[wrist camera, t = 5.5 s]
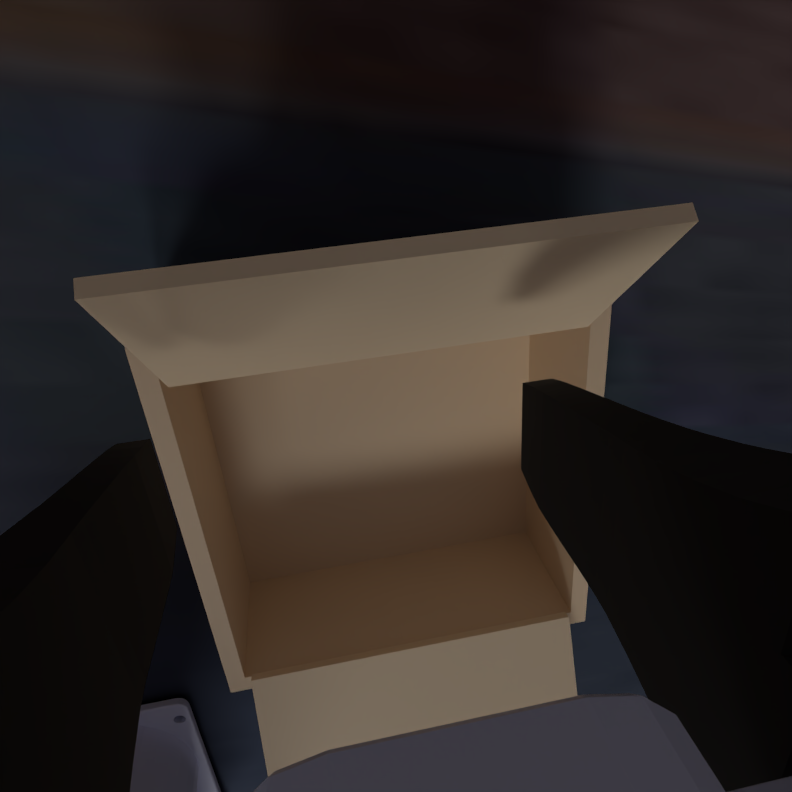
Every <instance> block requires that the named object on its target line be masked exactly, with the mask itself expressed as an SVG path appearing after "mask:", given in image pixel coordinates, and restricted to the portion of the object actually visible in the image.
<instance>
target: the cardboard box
mask: <svg viewBox="0 0 792 792" xmlns="http://www.w3.org/2000/svg"><path fill="white" fill-rule="evenodd" d="M611 308H612V304H611V305H610V306H609V307H608V308H607V309H606V310H605V311H604V312H603V313H602V314H601V315H600V316H599V317H598V318H596V319H595V320H594V321H593V322H592V323H591V324H590V325H589V326H588V327H583V328H576V329H569V330H562V331H555V332H549V333H542V334H535V335H528V336H521V337H514V338H507V339H500V340H493V341H486V342H479V343H472V344H465V345H458V346H451V347H445V348H438V349H431V350H424V351H417V352H410V353H403V354H396V355H389V356H382V357H375V358H368V359H361V360H354V361H348V362H341V363H334V364H327V365H320V366H313V367H306V368H299V369H292V370H285V371H278V372H271V373H264V374H257V375H250V376H244V377H237V378H230V379H223V380H216V381H209V382H202V383H195V384H188V385H181V386H174V387H168V386H167V385H166V384H164V383H163V382H162V381H161V380H160V379H159V378H158V377H157V376H156V375H155V374H154V373H153V372H152V371H151V370H149V369H148V368H147V367H146V366H145V365H144V364H143V363H142V362H141V361H140V360H139V359H138V358H137V357H135V356H134V355H133V354H132V353H131V352H130V351H129V350H128V349H127V348H126V347H125V352H126V355H127V358H128V361H129V364H130V368H131V371H132V374H133V377H134V381H135V384H136V387H137V390H138V394H139V397H140V400H141V403H142V407H143V410H144V413H145V416H146V419H147V423H148V426H149V429H150V432H151V436H152V439H153V442H154V445H155V449H156V452H157V455H158V458H159V462H160V465H161V468H162V471H163V475H164V478H165V481H166V484H167V487H168V491H169V494H170V497H171V500H172V504H173V507H174V510H175V513H176V517H177V520H178V523H179V526H180V530H181V533H182V536H183V539H184V542H185V546H186V549H187V552H188V555H189V559H190V562H191V565H192V568H193V572H194V575H195V578H196V581H197V585H198V588H199V591H200V594H201V597H202V601H203V604H204V607H205V610H206V614H207V617H208V620H209V623H210V627H211V630H212V633H213V636H214V640H215V643H216V646H217V649H218V653H219V656H220V659H221V662H222V665H223V669H224V672H225V675H226V678H227V682H228V685H229V688H230V691H231V693H232V692H237V691H242V690H247V689H252V684H251V678H252V674H256V673H261V672H266V671H271V670H276V669H281V668H286V667H291V666H296V665H301V664H306V663H311V662H316V661H321V660H326V659H331V658H336V657H341V656H346V655H351V654H356V653H361V652H366V651H371V650H376V649H381V648H386V647H391V646H396V645H401V644H406V643H411V642H416V641H421V640H426V639H431V638H436V637H441V636H446V635H451V634H456V633H461V632H466V631H471V630H476V629H481V628H486V627H491V626H496V625H501V624H506V623H511V622H516V621H521V620H526V619H531V618H536V617H541V616H546V615H551V614H556V613H561V612H565V613H566V614H567V615H568V616H569V622H570V624H573V623H578V622H583V621H585V615H586V603H587V591H588V583H587V582H586V580H585V579H584V577H583V575H582V574H581V572H580V571H579V569H578V568H577V566H576V565H575V563H574V562H573V560H572V559H571V557H570V556H569V554H568V553H567V551H566V550H565V548H564V547H563V545H562V544H561V542H560V541H559V539H558V537H557V536H556V534H555V533H554V531H553V530H552V528H551V527H550V525H549V523H548V522H547V520H546V519H545V517H544V516H543V514H542V512H541V511H540V509H539V507H538V505H537V503H536V501H535V499H534V497H533V495H532V493H531V491H530V488H529V486H528V484H527V482H526V479H525V477H524V475H523V472H522V470H521V441H522V386H523V383H525V382H532V381H538V380H545V379H556V380H560V381H563V382H566V383H569V384H571V385H574V386H577V387H579V388H582V389H584V390H587V391H589V392H592V393H594V394H597V395H599V396H602V397H604V390H605V378H606V367H607V355H608V343H609V331H610V319H611Z"/></svg>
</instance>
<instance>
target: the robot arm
mask: <svg viewBox="0 0 792 792" xmlns="http://www.w3.org/2000/svg"><path fill="white" fill-rule="evenodd" d="M521 470H522V472H523V475H524V477H525V479H526V482H527V484H528V486H529V488H530V491H531V493H532V495H533V497H534V499H535V501H536V503H537V505H538V507H539V509H540V511H541V512H542V514H543V516H544V517H545V519H546V520H547V522H548V523H549V525H550V527H551V528H552V530H553V531H554V533H555V534H556V536H557V537H558V539H559V541H560V542H561V544H562V545H563V547H564V548H565V550H566V551H567V553H568V554H569V556H570V557H571V559H572V560H573V562H574V563H575V565H576V566H577V568H578V569H579V571H580V572H581V574H582V575H583V577H584V579H585V580H586V582H587V583H588V585H589V586H590V588H591V589H592V591H593V592H594V594H595V596H596V597H597V599H598V601H599V602H600V604H601V606H602V607H603V609H604V611H605V612H606V614H607V616H608V618H609V620H610V622H611V624H612V626H613V628H614V630H615V632H616V634H617V636H618V638H619V640H620V642H621V644H622V646H623V648H624V650H625V652H626V654H627V656H628V658H629V660H630V662H631V664H632V666H633V668H634V670H635V672H636V674H637V676H638V678H639V681H640V683H641V685H642V687H643V689H644V691H645V693H646V695H647V697H648V699H647V698H645V697H643V696H641V695H635V694H596V695H579V696H574V697H570V698H565V699H561V700H556V701H551V702H547V703H542V704H538V705H533V706H528V707H524V708H519V709H514V710H510V711H505V712H501V713H496V714H491V715H487V716H482V717H478V718H473V719H468V720H464V721H459V722H455V723H450V724H445V725H441V726H436V727H432V728H427V729H422V730H418V731H413V732H409V733H404V734H399V735H395V736H390V737H386V738H381V739H376V740H372V741H367V742H363V743H358V744H353V745H349V746H344V747H340V748H335V749H330V750H327V751H324V752H322V753H319V754H317V755H314V756H312V757H309V758H307V759H304V760H302V761H299V762H297V763H294V764H292V765H289V766H287V767H284V768H282V769H279V770H277V771H274V772H273V773H272V774H271V775H270V776H269V777H268V778H266V779H265V780H264V781H263V782H262V783H261V784H260V785H259V786H258V787H257V788H256V789H255V790H254V791H253V792H792V454H791V453H786V452H781V451H775V450H770V449H765V448H760V447H756V446H751V445H747V444H742V443H738V442H735V441H731V440H727V439H723V438H719V437H716V436H712V435H708V434H704V433H701V432H698V431H694V430H691V429H688V428H685V427H682V426H679V425H676V424H673V423H670V422H667V421H664V420H661V419H658V418H655V417H653V416H650V415H647V414H645V413H642V412H639V411H637V410H634V409H632V408H629V407H627V406H624V405H622V404H619V403H616V402H614V401H612V400H609V399H607V398H604V397H602V396H599V395H597V394H594V393H592V392H589V391H587V390H584V389H582V388H579V387H577V386H574V385H571V384H569V383H566V382H563V381H560V380H556V379H545V380H538V381H532V382H525V383H523V386H522V441H521ZM176 532H177V525H176V522H175V519H174V516H173V512H172V509H171V506H170V502H169V499H168V496H167V493H166V489H165V486H164V483H163V479H162V476H161V473H160V470H159V466H158V463H157V460H156V456H155V453H154V450H153V446H152V443H151V440H150V439H147V440H141V441H134V442H127V443H121V444H116V445H114V446H113V447H111V448H110V449H108V450H107V451H106V452H104V453H103V454H102V455H100V456H99V457H98V458H97V459H95V460H94V461H93V462H92V463H91V464H89V465H88V466H87V467H86V468H85V469H83V470H82V471H81V472H80V473H79V474H77V475H76V476H75V477H74V478H73V479H71V480H70V481H69V482H68V483H67V484H65V485H64V486H63V487H62V488H61V489H59V490H58V491H57V492H56V493H55V494H53V495H52V496H51V497H50V498H49V499H47V500H46V501H45V502H44V503H42V504H41V505H40V506H39V507H37V508H36V509H35V510H33V511H32V512H31V513H29V514H28V515H27V516H25V517H24V518H23V519H22V520H20V521H19V522H18V523H16V524H15V525H14V526H12V527H11V528H10V529H8V530H7V531H6V532H5V533H3V534H2V535H1V536H0V792H221V790H220V787H219V785H218V782H217V779H216V776H215V773H214V771H213V768H212V765H211V762H210V760H209V757H208V754H207V751H206V749H205V746H204V743H203V740H202V737H201V735H200V732H199V729H198V726H197V724H196V721H195V718H194V715H193V712H192V710H191V707H190V704H189V702H188V701H187V700H185V699H183V698H174V699H169V700H164V701H159V702H154V703H149V704H144V705H141V703H142V698H143V693H144V688H145V683H146V679H147V675H148V671H149V667H150V663H151V659H152V655H153V651H154V647H155V643H156V639H157V635H158V631H159V627H160V623H161V619H162V615H163V611H164V607H165V603H166V599H167V595H168V591H169V587H170V582H171V578H172V574H173V565H174V556H175V545H176Z"/></svg>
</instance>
